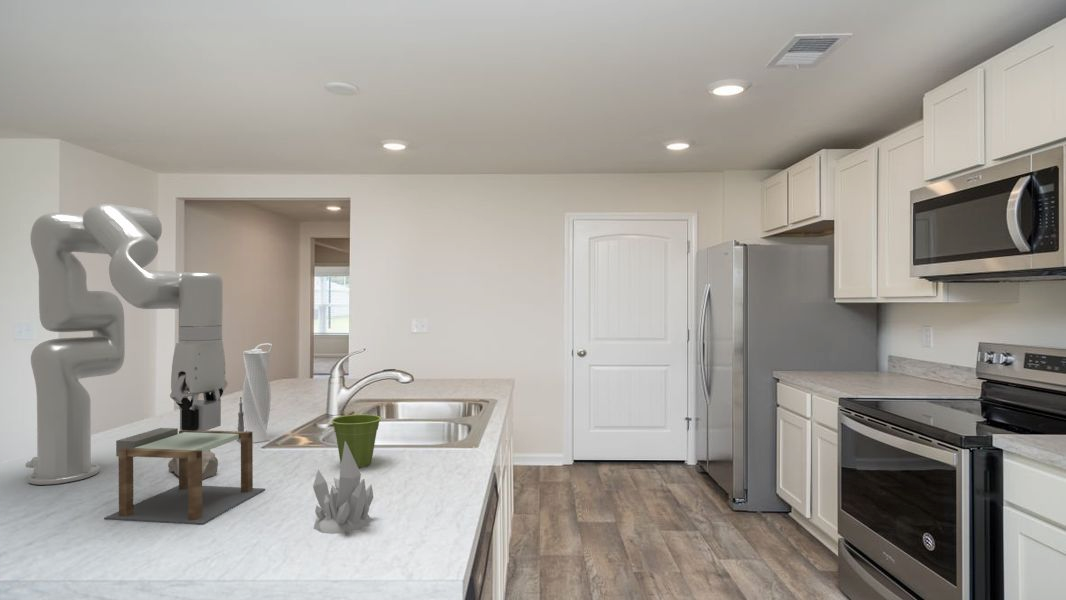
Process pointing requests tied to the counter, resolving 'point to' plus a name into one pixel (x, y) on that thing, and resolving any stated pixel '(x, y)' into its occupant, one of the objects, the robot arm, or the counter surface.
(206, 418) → the stone block
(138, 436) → the trapdoor
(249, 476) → the frame
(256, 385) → the skyscraper
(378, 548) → the counter surface
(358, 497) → the crystal
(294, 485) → the counter surface
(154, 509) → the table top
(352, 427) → the plant pot
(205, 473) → the concrete fragment
